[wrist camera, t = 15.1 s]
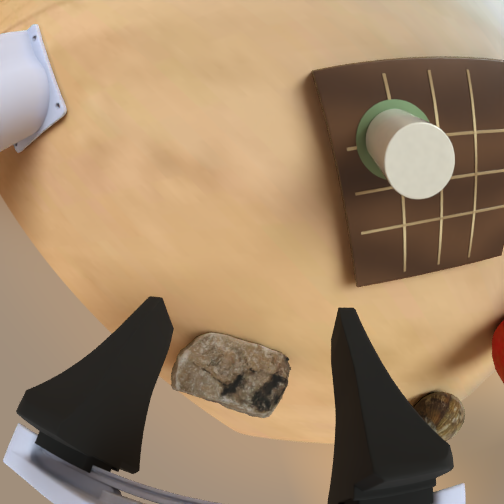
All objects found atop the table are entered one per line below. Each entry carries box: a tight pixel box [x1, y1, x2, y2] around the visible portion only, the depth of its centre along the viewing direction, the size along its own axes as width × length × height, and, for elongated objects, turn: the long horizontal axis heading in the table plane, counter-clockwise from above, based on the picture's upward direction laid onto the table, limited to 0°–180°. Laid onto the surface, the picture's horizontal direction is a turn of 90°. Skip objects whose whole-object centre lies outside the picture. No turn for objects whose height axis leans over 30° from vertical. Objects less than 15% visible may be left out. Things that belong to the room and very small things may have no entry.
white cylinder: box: [366, 109, 455, 199], centre depth 13 cm, size 4×4×4 cm
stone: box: [171, 332, 291, 418], centre depth 28 cm, size 7×12×7 cm, turn 79°
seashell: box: [414, 392, 465, 441], centre depth 32 cm, size 11×9×8 cm
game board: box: [312, 57, 504, 287], centre depth 16 cm, size 16×14×1 cm
